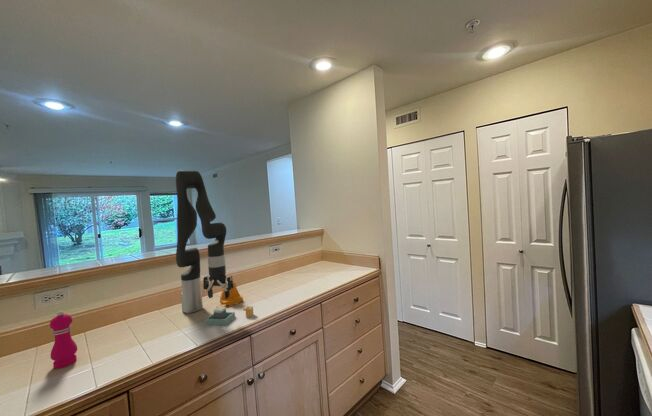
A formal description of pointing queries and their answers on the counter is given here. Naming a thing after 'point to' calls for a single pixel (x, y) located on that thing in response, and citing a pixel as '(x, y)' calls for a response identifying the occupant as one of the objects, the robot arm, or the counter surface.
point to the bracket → (231, 296)
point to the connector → (220, 313)
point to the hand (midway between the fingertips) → (219, 297)
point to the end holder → (213, 321)
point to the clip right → (248, 311)
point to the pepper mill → (62, 341)
